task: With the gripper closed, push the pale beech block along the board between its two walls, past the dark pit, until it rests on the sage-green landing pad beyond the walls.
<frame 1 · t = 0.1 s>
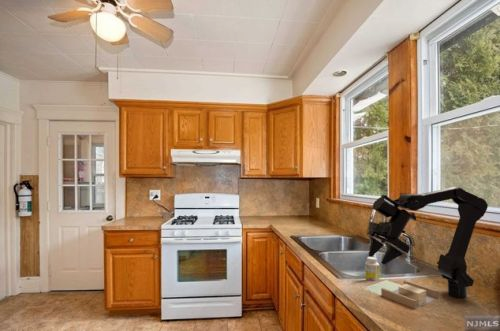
hand: (375, 259, 100), 15 cm above the countertop, tool tilted 30°, fingers open, 9 cm apart
block: (412, 299, 96), point 1 cm above the countertop, touching board
supplement bottle: (372, 282, 117), on the countertop
board: (398, 296, 102), on the countertop
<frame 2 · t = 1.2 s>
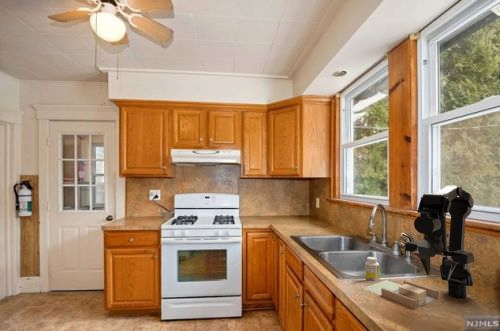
hand: (437, 277, 90), 12 cm above the countertop, tool pointing down, fingers open, 5 cm apart
nothing on the countertop moved.
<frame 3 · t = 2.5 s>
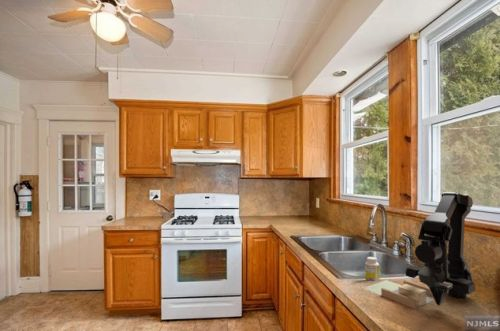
hand: (438, 304, 89), 3 cm above the countertop, tool pointing down, fingers closed
nothing on the countertop moved.
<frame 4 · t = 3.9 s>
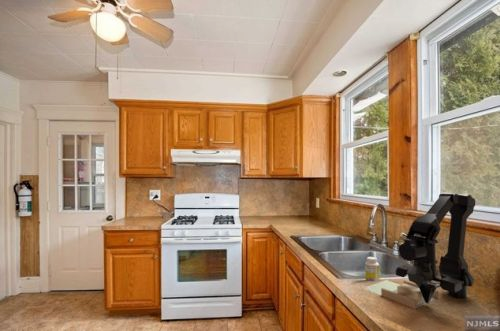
hand: (427, 303, 92), 2 cm above the countertop, tool pointing down, fingers closed
block: (411, 299, 97), point 1 cm above the countertop, touching board, gripper
everything else where it was.
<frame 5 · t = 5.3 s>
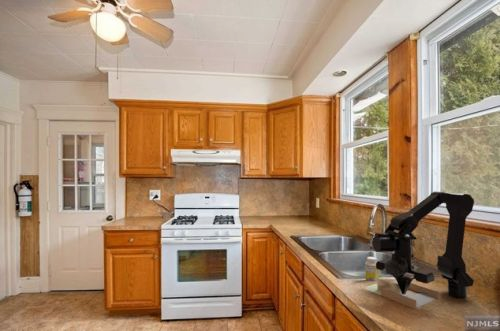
hand: (403, 294, 99), 2 cm above the countertop, tool pointing down, fingers closed
block: (389, 291, 103), point 2 cm above the countertop, touching gripper
everything else where it was.
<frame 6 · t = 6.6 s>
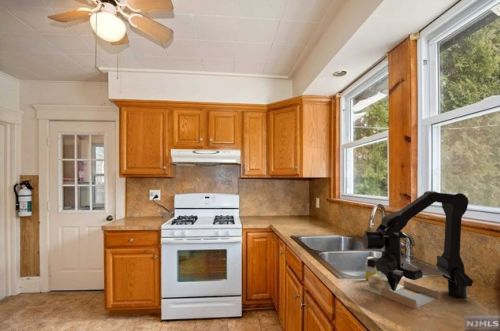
hand: (393, 290, 102), 2 cm above the countertop, tool pointing down, fingers closed
block: (380, 288, 107), point 1 cm above the countertop, touching board, gripper
everything else where it was.
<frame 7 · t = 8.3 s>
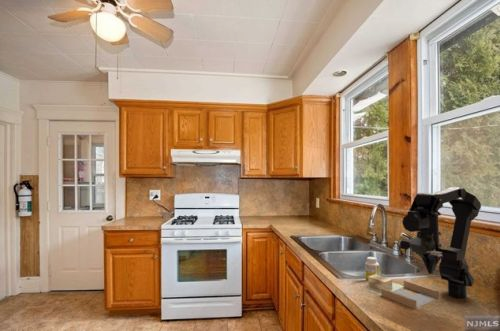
hand: (430, 273, 94), 12 cm above the countertop, tool pointing down, fingers closed
block: (380, 288, 107), point 1 cm above the countertop, touching board
everything else where it was.
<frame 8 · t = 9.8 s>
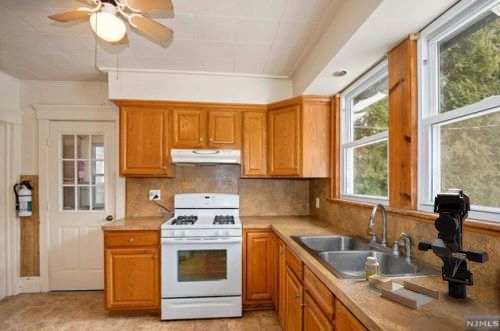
hand: (451, 276, 90), 12 cm above the countertop, tool pointing down, fingers closed
nothing on the countertop moved.
at the end: block inside the target area (0.7 cm from its centre), point 1.4 cm above the countertop; block tilted 0°; block touching board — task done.
